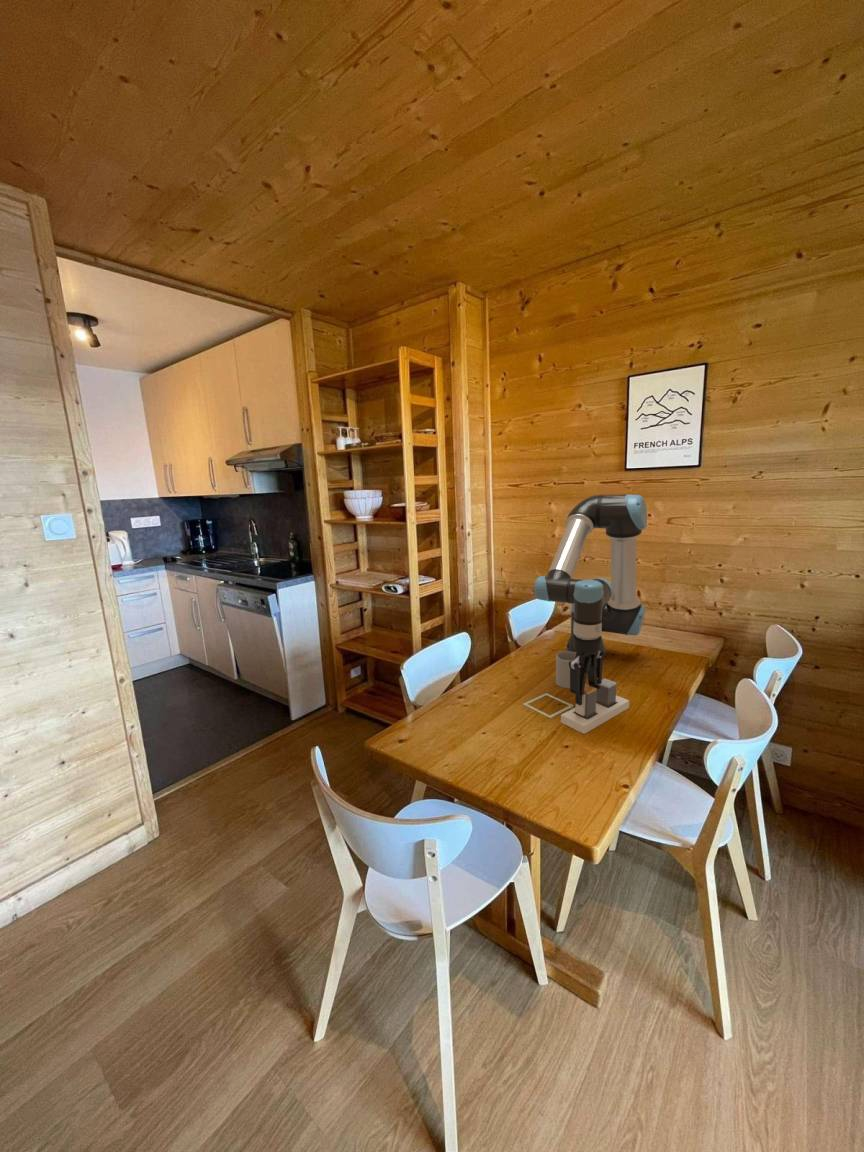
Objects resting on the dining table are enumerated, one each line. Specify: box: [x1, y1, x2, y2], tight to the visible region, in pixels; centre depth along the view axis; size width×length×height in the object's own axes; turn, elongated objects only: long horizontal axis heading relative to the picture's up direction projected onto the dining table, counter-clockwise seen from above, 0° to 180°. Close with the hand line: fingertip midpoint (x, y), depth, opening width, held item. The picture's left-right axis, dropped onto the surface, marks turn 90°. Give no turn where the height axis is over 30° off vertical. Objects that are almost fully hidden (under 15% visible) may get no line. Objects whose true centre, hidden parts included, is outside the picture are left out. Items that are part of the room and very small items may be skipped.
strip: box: [560, 694, 630, 735], centre depth 137 cm, size 8×22×4 cm, turn 126°
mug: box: [555, 650, 576, 689], centre depth 159 cm, size 12×8×11 cm
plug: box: [575, 683, 597, 720], centre depth 133 cm, size 4×4×9 cm
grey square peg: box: [596, 677, 617, 708], centre depth 139 cm, size 4×4×9 cm
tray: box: [522, 692, 574, 719], centre depth 145 cm, size 11×11×1 cm
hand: (585, 710), depth 134 cm, fingers open, 4 cm apart
